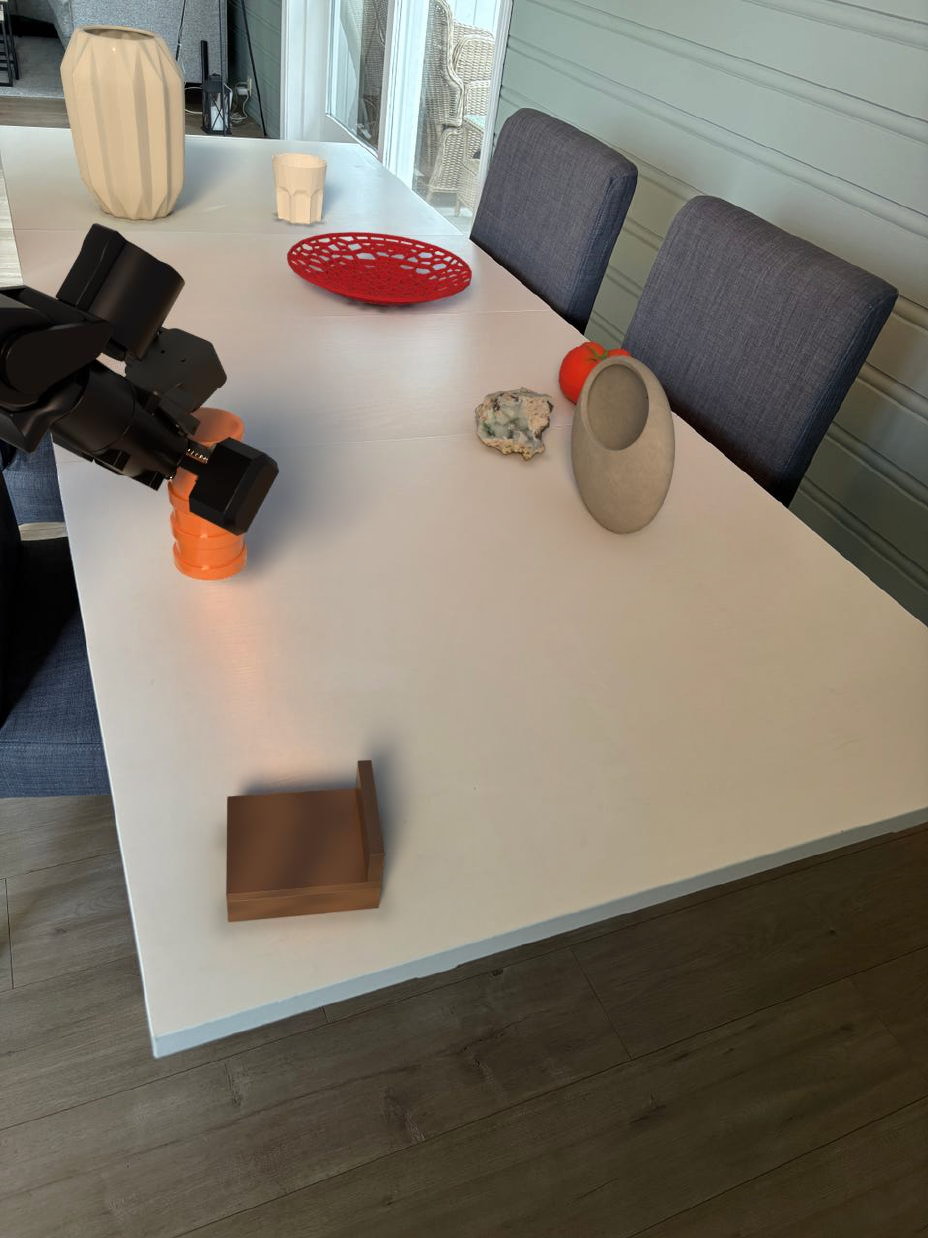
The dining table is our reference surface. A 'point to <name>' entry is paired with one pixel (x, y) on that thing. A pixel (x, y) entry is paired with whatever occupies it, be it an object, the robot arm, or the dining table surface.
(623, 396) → the planter
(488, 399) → the mineral specimen
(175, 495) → the orange ribbed tumbler
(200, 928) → the dining table surface
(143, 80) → the vase
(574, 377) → the tomato
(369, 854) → the bookend
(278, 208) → the cup
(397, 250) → the bowl
